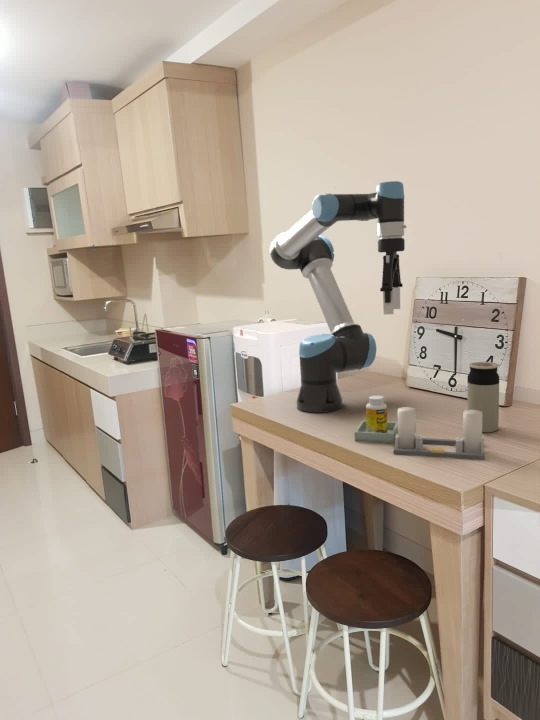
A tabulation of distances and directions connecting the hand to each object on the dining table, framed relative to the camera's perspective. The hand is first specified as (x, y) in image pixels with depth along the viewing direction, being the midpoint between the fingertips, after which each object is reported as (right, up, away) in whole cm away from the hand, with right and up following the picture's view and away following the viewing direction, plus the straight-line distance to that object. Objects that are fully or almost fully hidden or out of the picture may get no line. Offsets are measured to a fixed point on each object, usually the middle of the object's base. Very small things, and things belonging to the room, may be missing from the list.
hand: (392, 311), depth 161 cm
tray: (-7, -35, -12) cm, 38 cm away
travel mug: (+22, -33, -11) cm, 42 cm away
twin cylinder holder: (+6, -37, -25) cm, 45 cm away
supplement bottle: (-7, -35, -12) cm, 37 cm away
